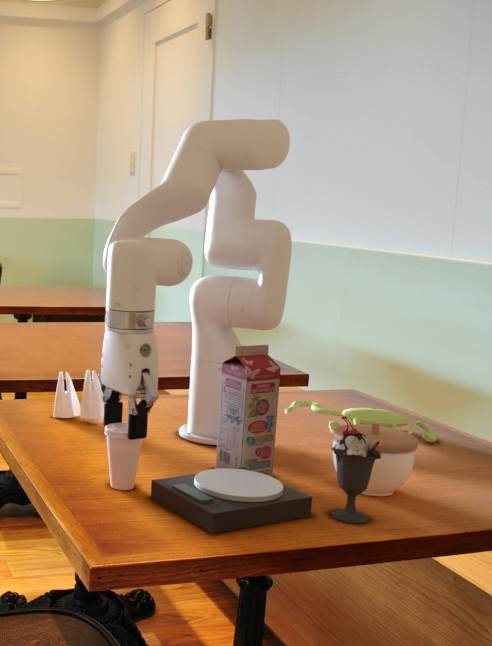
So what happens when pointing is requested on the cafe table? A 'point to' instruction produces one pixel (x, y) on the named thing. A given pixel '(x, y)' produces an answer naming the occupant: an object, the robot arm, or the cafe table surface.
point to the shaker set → (90, 402)
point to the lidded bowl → (385, 456)
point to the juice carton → (248, 410)
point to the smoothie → (122, 455)
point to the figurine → (367, 418)
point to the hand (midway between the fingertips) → (124, 431)
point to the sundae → (353, 470)
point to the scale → (230, 499)
